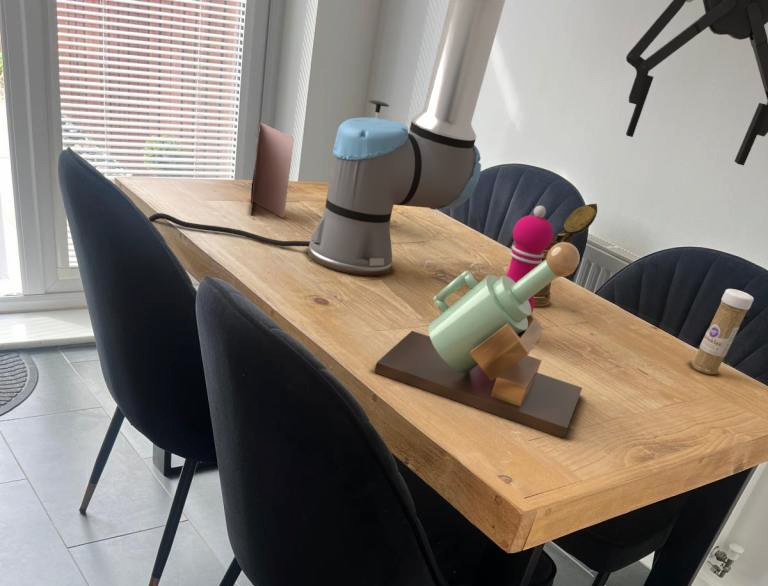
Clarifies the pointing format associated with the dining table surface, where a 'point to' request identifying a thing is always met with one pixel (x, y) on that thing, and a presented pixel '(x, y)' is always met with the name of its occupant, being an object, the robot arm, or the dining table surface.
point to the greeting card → (272, 169)
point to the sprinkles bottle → (722, 331)
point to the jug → (492, 306)
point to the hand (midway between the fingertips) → (683, 149)
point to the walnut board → (479, 386)
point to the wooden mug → (572, 227)
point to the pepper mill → (529, 245)
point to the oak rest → (510, 361)
